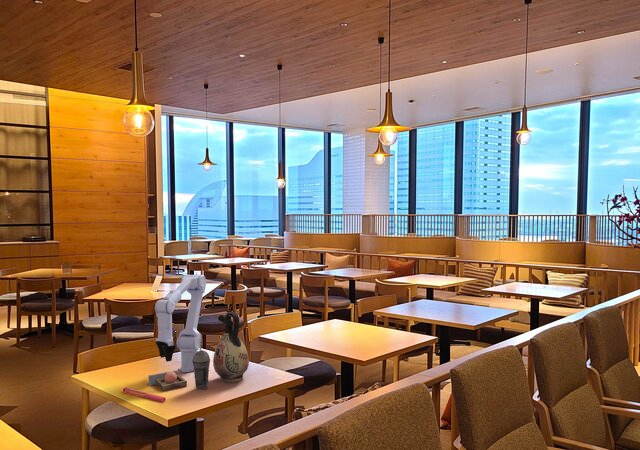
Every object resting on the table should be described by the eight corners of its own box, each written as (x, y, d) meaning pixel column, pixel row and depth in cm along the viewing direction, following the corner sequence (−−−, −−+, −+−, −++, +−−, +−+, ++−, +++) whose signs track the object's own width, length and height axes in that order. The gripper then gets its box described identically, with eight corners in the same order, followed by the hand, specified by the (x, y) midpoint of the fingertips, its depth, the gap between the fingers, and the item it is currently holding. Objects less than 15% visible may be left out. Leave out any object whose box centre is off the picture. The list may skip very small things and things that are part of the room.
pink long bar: (129, 392, 201) (119, 392, 197) (130, 387, 202) (120, 387, 198) (169, 403, 189) (160, 403, 185) (170, 397, 189) (161, 397, 186)
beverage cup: (194, 392, 196) (193, 343, 196) (190, 387, 203) (189, 339, 203) (212, 389, 200) (211, 340, 199) (208, 384, 206) (207, 337, 206)
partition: (175, 378, 215) (175, 369, 215) (178, 380, 212) (177, 371, 212) (147, 384, 208) (147, 374, 208) (149, 386, 205) (149, 376, 205)
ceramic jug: (206, 379, 212) (204, 311, 212) (234, 371, 224) (233, 306, 223) (229, 388, 201) (228, 315, 200) (259, 379, 212) (257, 310, 212)
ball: (175, 381, 209) (174, 369, 209) (178, 384, 205) (178, 372, 205) (163, 383, 206) (162, 371, 206) (166, 386, 202) (166, 374, 202)
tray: (179, 380, 213) (179, 375, 212) (186, 386, 204) (186, 381, 204) (155, 384, 207) (155, 379, 207) (162, 391, 199) (162, 386, 199)
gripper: (150, 326, 214) (151, 357, 214) (161, 332, 202) (161, 364, 202) (166, 323, 218) (167, 354, 218) (177, 329, 206) (178, 361, 206)
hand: (165, 359), depth 210 cm, fingers open, 7 cm apart
